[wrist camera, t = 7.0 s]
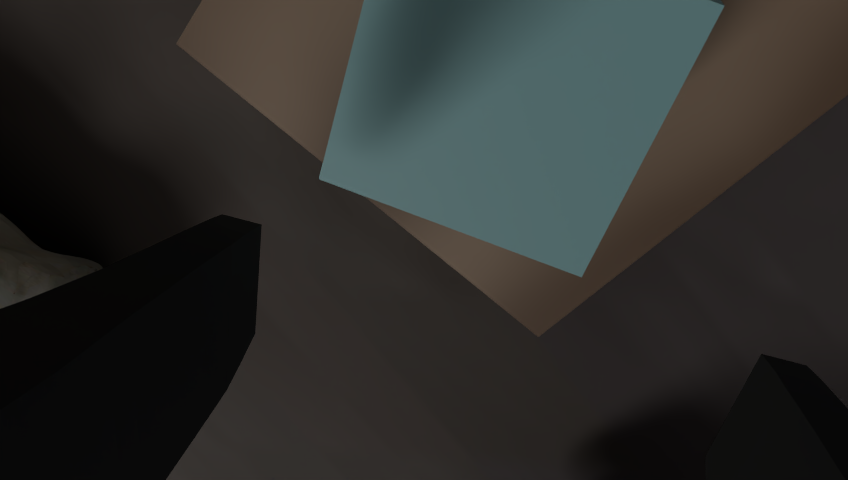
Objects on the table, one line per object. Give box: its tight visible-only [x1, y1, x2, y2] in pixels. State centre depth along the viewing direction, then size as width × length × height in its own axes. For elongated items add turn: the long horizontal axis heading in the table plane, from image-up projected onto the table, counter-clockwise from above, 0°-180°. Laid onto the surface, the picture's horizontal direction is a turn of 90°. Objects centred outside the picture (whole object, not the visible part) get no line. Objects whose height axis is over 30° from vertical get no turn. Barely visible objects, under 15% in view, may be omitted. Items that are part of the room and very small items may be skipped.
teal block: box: [319, 0, 724, 277], centre depth 14 cm, size 5×5×5 cm
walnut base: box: [176, 0, 848, 337], centre depth 17 cm, size 12×12×2 cm
